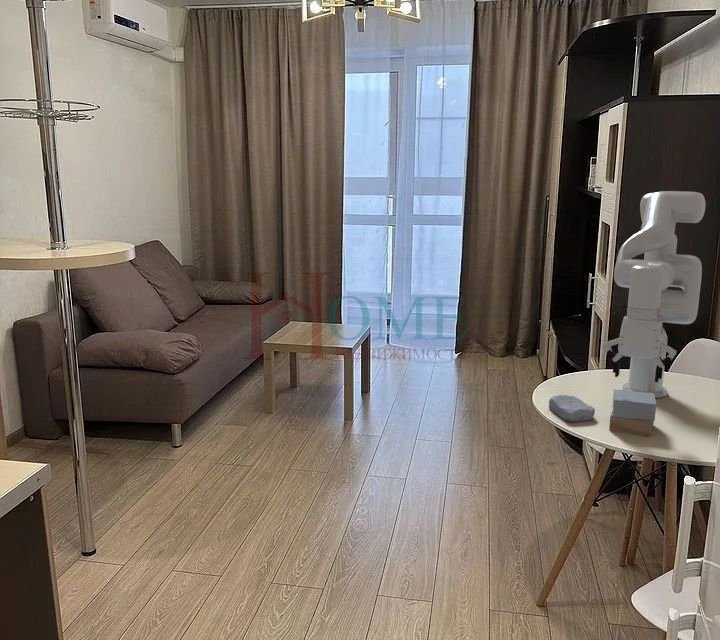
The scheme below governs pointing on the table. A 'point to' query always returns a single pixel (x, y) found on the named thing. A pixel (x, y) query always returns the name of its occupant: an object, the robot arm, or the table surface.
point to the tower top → (634, 405)
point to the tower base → (631, 426)
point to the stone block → (571, 408)
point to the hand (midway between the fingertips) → (636, 378)
